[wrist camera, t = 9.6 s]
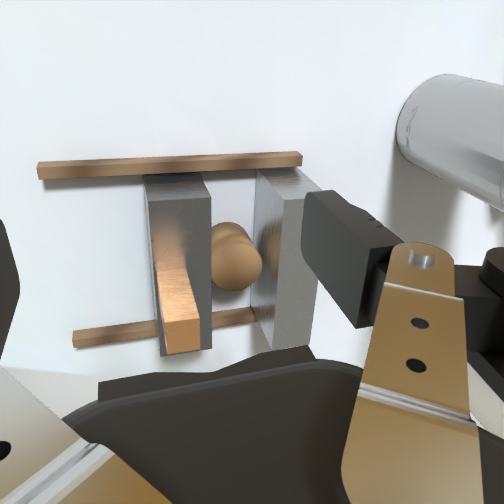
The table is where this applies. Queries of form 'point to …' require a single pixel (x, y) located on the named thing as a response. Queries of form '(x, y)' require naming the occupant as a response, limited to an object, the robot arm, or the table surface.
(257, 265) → the nut
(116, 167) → the press frame
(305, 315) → the grey rectangular block
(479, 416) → the bottle
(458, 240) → the table surface
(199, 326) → the press jaw
